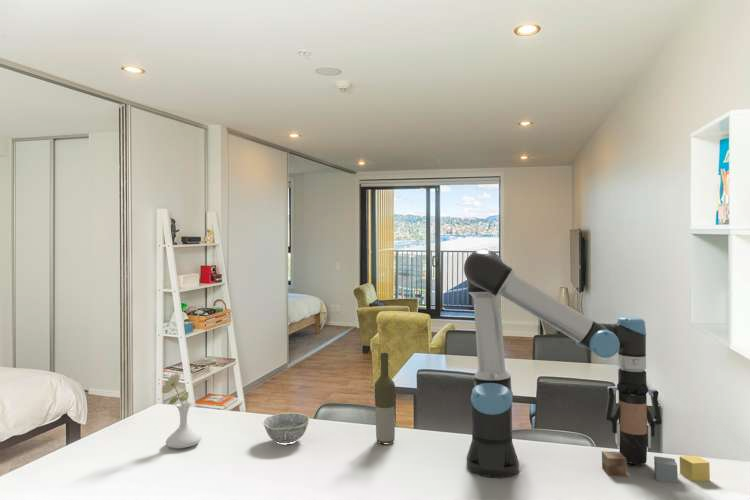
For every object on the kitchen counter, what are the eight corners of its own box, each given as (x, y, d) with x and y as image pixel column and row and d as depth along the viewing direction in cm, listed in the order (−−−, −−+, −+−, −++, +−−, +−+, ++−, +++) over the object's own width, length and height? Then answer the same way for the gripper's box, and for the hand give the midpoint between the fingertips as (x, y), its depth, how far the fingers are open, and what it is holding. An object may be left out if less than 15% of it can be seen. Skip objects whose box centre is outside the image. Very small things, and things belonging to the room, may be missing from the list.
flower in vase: (188, 436, 175) (188, 366, 175) (208, 443, 168) (208, 370, 169) (154, 448, 164) (153, 373, 165) (173, 456, 157) (173, 377, 158)
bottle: (377, 437, 172) (376, 351, 172) (397, 438, 170) (396, 352, 171) (373, 445, 165) (372, 355, 165) (394, 446, 163) (392, 355, 164)
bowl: (306, 450, 161) (305, 427, 161) (257, 451, 161) (257, 427, 161) (312, 433, 177) (312, 412, 177) (268, 434, 177) (268, 412, 177)
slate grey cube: (656, 481, 136) (656, 462, 136) (654, 473, 141) (654, 456, 141) (677, 484, 134) (677, 465, 134) (674, 476, 139) (674, 458, 139)
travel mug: (651, 465, 143) (650, 396, 144) (623, 463, 145) (622, 395, 145) (642, 455, 151) (641, 389, 151) (615, 453, 152) (615, 388, 153)
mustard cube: (692, 481, 135) (692, 463, 135) (680, 473, 140) (679, 456, 140) (709, 480, 136) (709, 462, 136) (696, 473, 141) (696, 455, 141)
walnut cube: (608, 475, 140) (608, 458, 140) (602, 468, 144) (601, 451, 145) (626, 476, 139) (626, 458, 139) (619, 469, 144) (619, 451, 144)
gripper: (597, 369, 147) (597, 446, 147) (674, 373, 142) (675, 453, 141) (593, 364, 155) (594, 437, 154) (666, 368, 149) (667, 444, 149)
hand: (632, 445), depth 148 cm, fingers closed on travel mug, 8 cm apart
